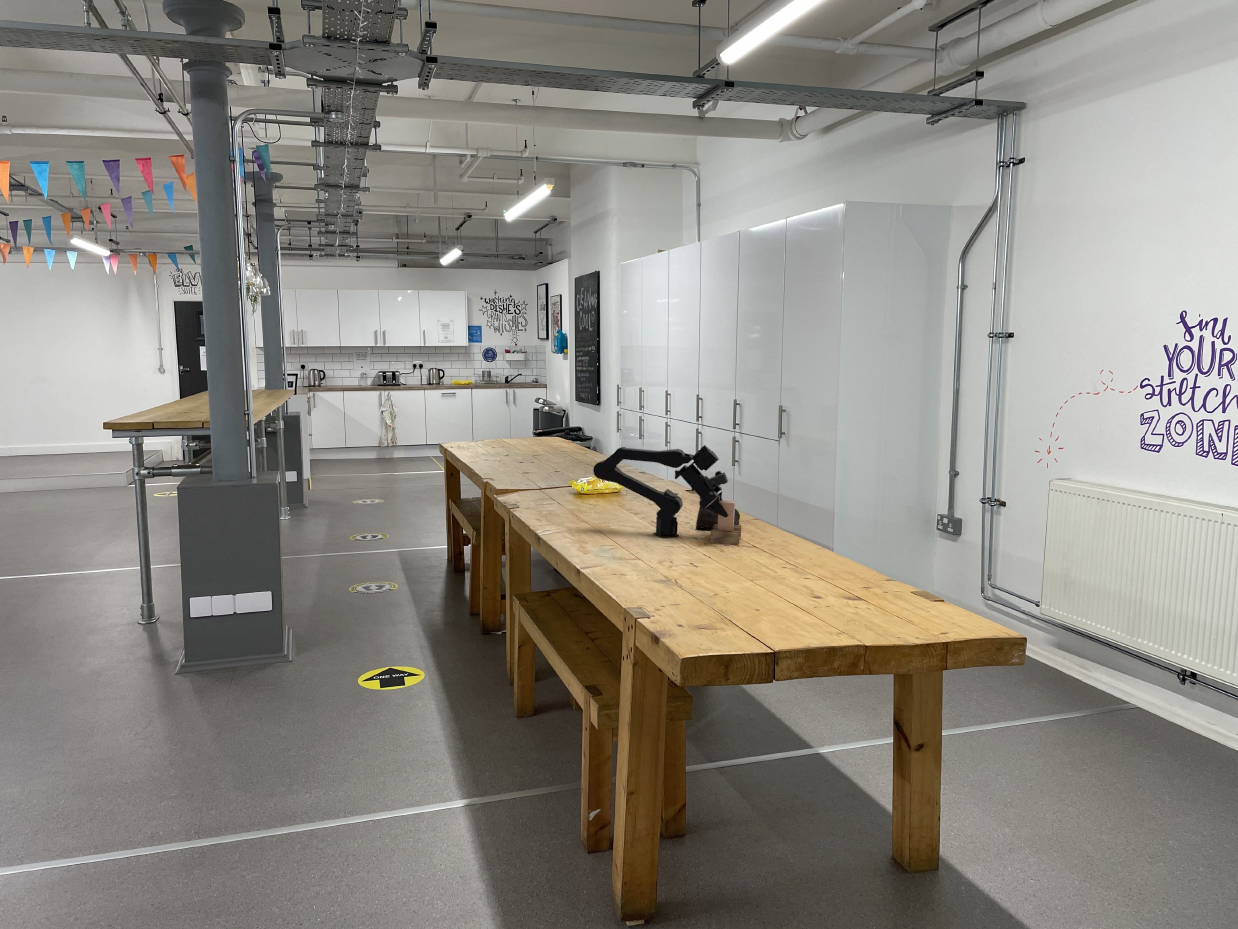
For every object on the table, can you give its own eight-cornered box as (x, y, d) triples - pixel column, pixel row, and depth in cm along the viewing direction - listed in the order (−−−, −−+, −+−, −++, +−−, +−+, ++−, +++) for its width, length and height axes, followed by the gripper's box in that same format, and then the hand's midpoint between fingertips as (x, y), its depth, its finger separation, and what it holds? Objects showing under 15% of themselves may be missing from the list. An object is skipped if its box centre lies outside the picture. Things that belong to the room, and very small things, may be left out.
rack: (710, 543, 280) (710, 531, 279) (714, 534, 293) (714, 523, 292) (738, 545, 278) (738, 533, 278) (740, 536, 291) (741, 525, 290)
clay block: (717, 538, 284) (718, 502, 282) (718, 535, 288) (719, 500, 286) (732, 539, 283) (734, 503, 281) (733, 536, 287) (735, 501, 285)
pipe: (742, 504, 311) (701, 495, 312) (743, 514, 296) (701, 505, 297) (736, 529, 313) (696, 520, 314) (737, 541, 298) (695, 531, 299)
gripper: (711, 467, 274) (744, 504, 273) (716, 460, 292) (748, 494, 291) (685, 490, 277) (718, 526, 276) (692, 482, 295) (723, 516, 294)
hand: (727, 515), depth 284 cm, fingers open, 5 cm apart
